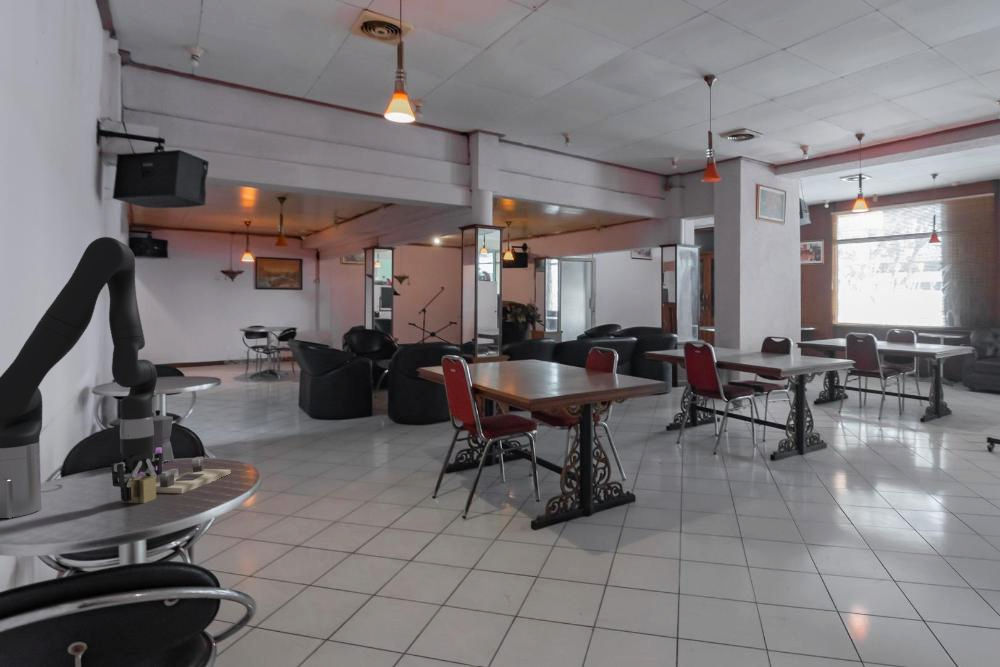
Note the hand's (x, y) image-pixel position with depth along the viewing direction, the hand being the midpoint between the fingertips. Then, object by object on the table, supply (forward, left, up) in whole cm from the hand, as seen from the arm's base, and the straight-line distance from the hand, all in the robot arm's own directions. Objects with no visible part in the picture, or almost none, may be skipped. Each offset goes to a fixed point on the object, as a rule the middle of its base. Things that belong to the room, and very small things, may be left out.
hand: (138, 496), depth 146 cm
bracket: (+27, +23, -1) cm, 36 cm away
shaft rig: (+17, -1, -1) cm, 17 cm away
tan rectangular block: (0, 0, -1) cm, 1 cm away
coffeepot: (+39, +31, -1) cm, 50 cm away
